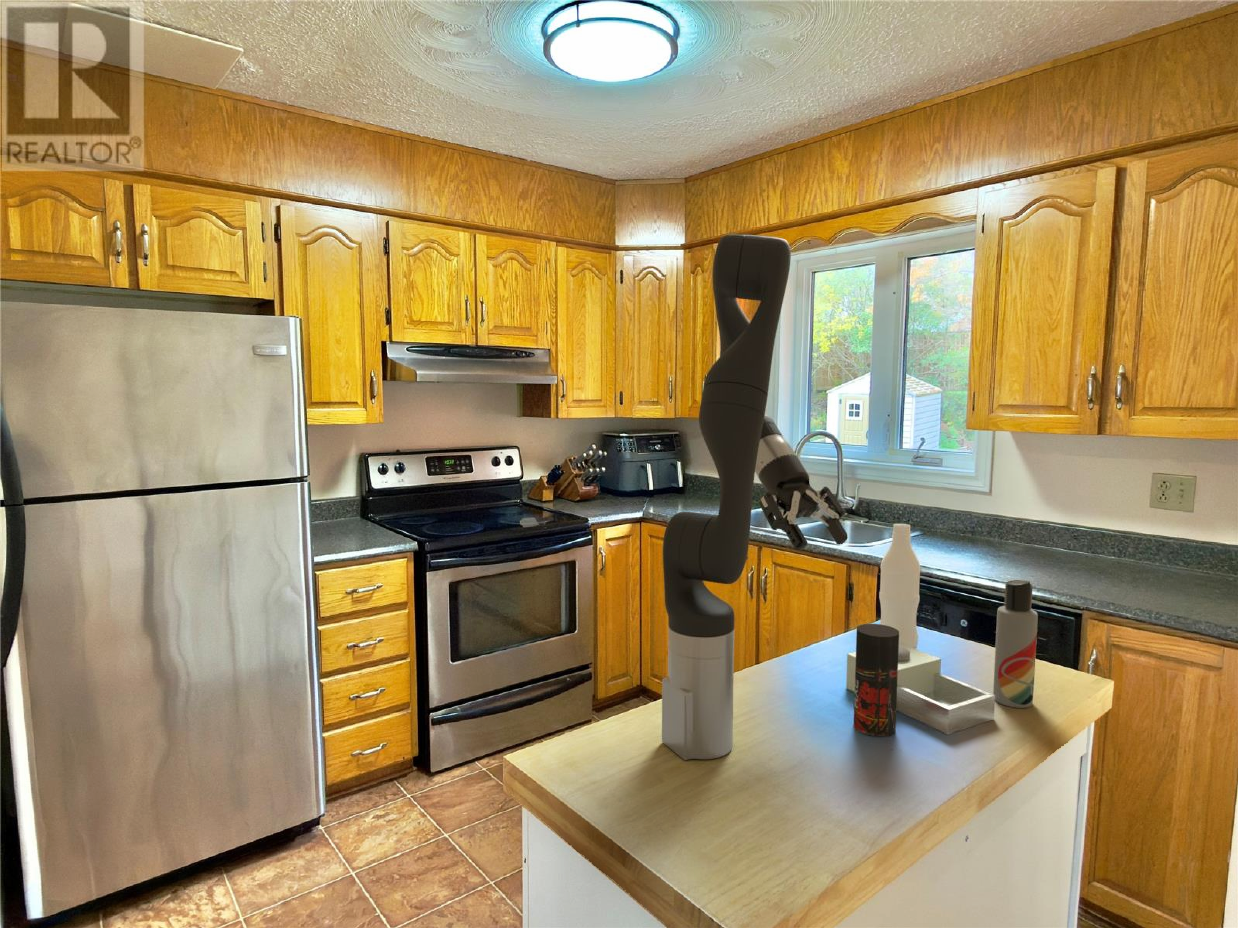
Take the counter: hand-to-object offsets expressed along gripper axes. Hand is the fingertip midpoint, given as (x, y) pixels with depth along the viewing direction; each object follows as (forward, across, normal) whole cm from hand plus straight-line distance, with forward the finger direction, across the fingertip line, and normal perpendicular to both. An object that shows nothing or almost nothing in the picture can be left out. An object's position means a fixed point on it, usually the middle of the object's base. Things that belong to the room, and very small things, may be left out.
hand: (823, 544), depth 115 cm
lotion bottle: (+29, +27, +8) cm, 40 cm away
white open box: (+27, +13, +9) cm, 31 cm away
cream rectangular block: (+21, +13, +16) cm, 29 cm away
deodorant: (+26, 0, +10) cm, 28 cm away
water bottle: (+12, +28, +25) cm, 39 cm away
